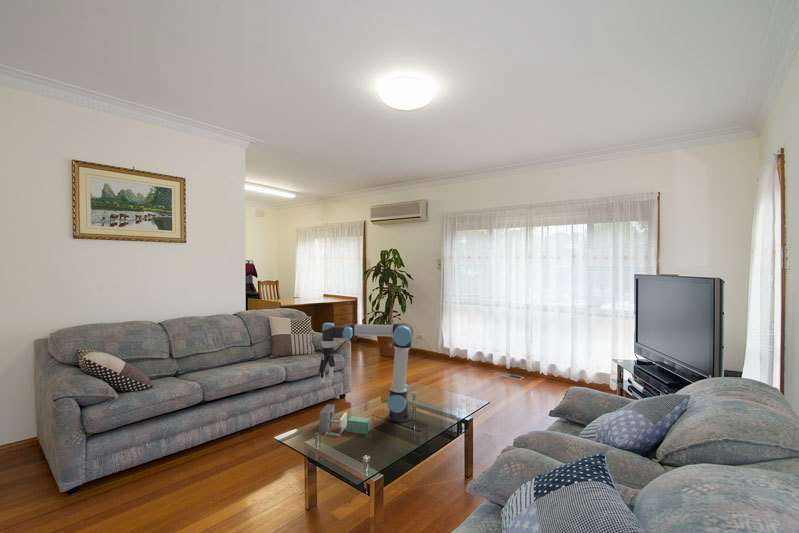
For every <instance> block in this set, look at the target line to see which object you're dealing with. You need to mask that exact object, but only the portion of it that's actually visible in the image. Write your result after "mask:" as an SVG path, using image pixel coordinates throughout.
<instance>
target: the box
mask: <svg viewBox="0 0 799 533" xmlns="http://www.w3.org/2000/svg"><path fill="white" fill-rule="evenodd" d="M371 421H372V419H371V418H368V417H361V416H354V415H351V416H349V417H348V418H347V425H346V430H345V431H346V433H354V434H359V435H360V434H361V435H368V433H369V432H370V431H371V426H372V425H371V424H372V422H371Z"/></svg>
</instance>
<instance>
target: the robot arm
mask: <svg viewBox="0 0 799 533" xmlns="http://www.w3.org/2000/svg"><path fill="white" fill-rule="evenodd" d="M321 331H322V332H321V334H322V335H321V354H323V356H321V358H320V365H319V369H318V373H320V376H319V377H320V378H319V379H320V380H319V383H321V384H324V383H325V382H326V380H325V379H326V372H325V371H326V368H327V364H329V365H328V366H329V367H328V378H329V377H330V378H331V377H332V378H333V377H334V367H336V363H335V362H336V361H335V357H334V346H335V345H334V344H335V343H334V342H335V339H345V340H348V339H352V337H353V336H366V337H367V336H368V337H370V336H371V337H373V336H374V337H392V339H393V342H392V346H393V348H394V357H393V369H392V370H393V371H392V383H391V386H390V387H389V390H388V398H387V402H386V403H387V408H388V409H389V411H388V412H387V419H388V420H389V421H391V422H393V423H399V424H400V423H406V422H408V420H409V419H410V420H411V412H410V409H409V389H410V388H409V385H408V384H407V382H406V381H407V371H408V362H409V361H408V360H409V359H408V358H409V350H410V349H411V348H412V341H413V339H412V338H413V334H414V330H413V327H412V326H411V325H410V324H408V323H406V322H405V323H404V322H401V323H392V324H368V323H367V324H363V323H351V322H350V323H346V324H344V325H342V326H335V324H334V323H333V322H324V323H323V324H322V329H321ZM410 420H409V421H410Z"/></svg>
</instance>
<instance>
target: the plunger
mask: <svg viewBox="0 0 799 533" xmlns="http://www.w3.org/2000/svg"><path fill="white" fill-rule="evenodd" d="M347 420H348V412H346V411H345V412H344V413H343V415H342V416H341V417H340V419H339V420H336V419H334V420H330V423H334V424H339V427H338V429H337V430H338V431H337V433H338V434H342V433H343V431H344V430H345V428H347Z"/></svg>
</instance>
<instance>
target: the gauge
mask: <svg viewBox="0 0 799 533" xmlns="http://www.w3.org/2000/svg"><path fill="white" fill-rule="evenodd" d="M330 420H335V404H327V403H326V405H325V406H323V409H322V410H320V411H319V420H318V421H319V422H318V423H319V425H318V433H319V432H322V433H321V434H324V435H325V436H329V437H330V436H332V437H341V436H342V433H340V434H338V432H329V431H330V430H331V428H332V427H333V426H334V424H335V423H330Z"/></svg>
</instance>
